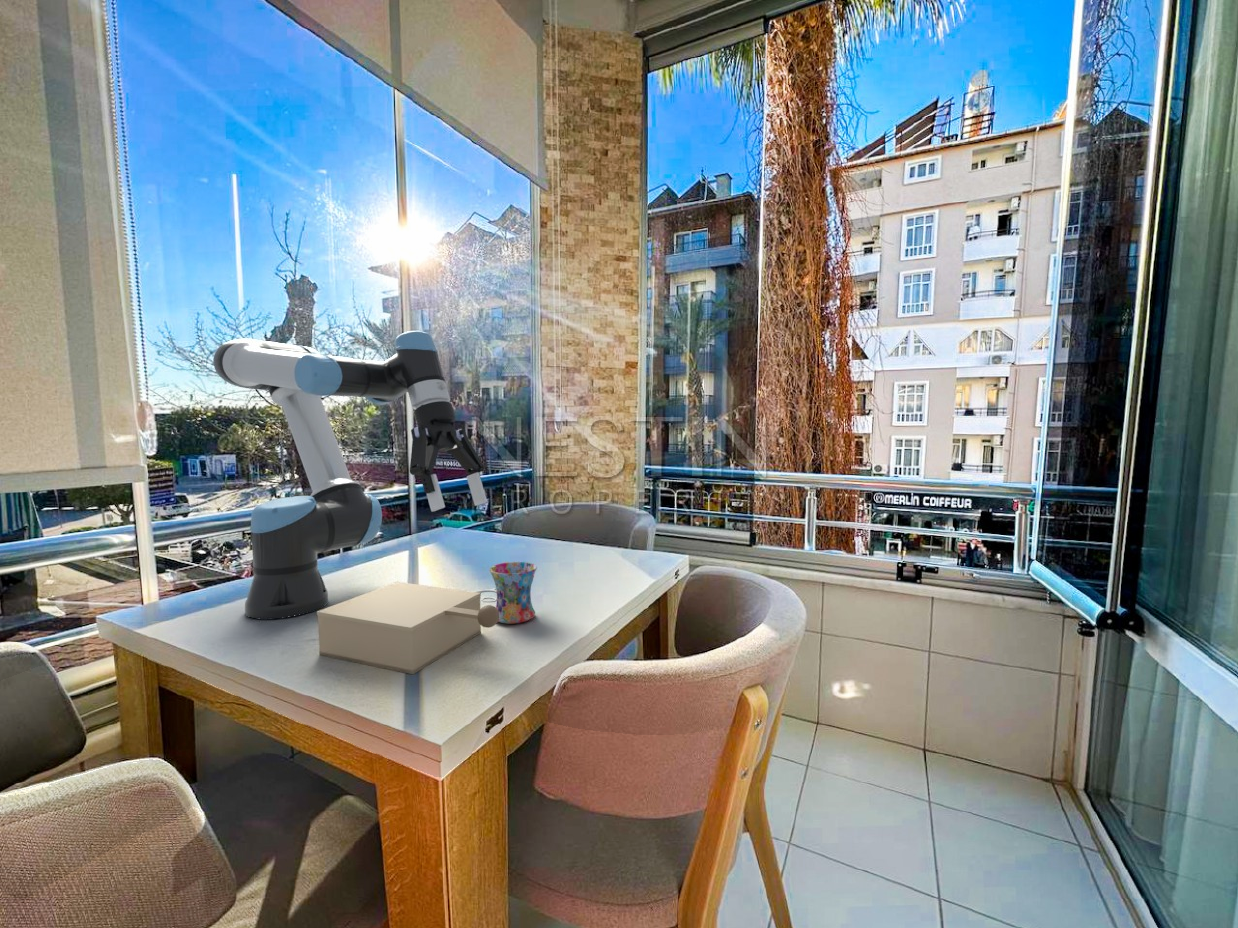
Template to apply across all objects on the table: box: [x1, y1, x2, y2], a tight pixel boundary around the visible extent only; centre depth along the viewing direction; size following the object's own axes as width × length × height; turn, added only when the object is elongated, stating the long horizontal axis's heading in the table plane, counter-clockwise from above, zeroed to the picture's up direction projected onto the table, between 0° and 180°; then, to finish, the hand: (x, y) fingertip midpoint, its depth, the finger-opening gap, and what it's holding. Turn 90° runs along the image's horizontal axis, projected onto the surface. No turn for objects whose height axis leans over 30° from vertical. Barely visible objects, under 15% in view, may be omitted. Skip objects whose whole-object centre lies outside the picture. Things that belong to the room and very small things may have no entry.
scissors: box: [469, 587, 497, 603], centre depth 124 cm, size 11×1×20 cm
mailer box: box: [317, 597, 482, 675], centre depth 95 cm, size 20×18×7 cm
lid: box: [316, 581, 499, 631], centre depth 93 cm, size 30×18×4 cm, turn 69°
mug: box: [489, 561, 538, 625], centre depth 109 cm, size 12×9×11 cm
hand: (461, 506), depth 105 cm, fingers open, 13 cm apart
